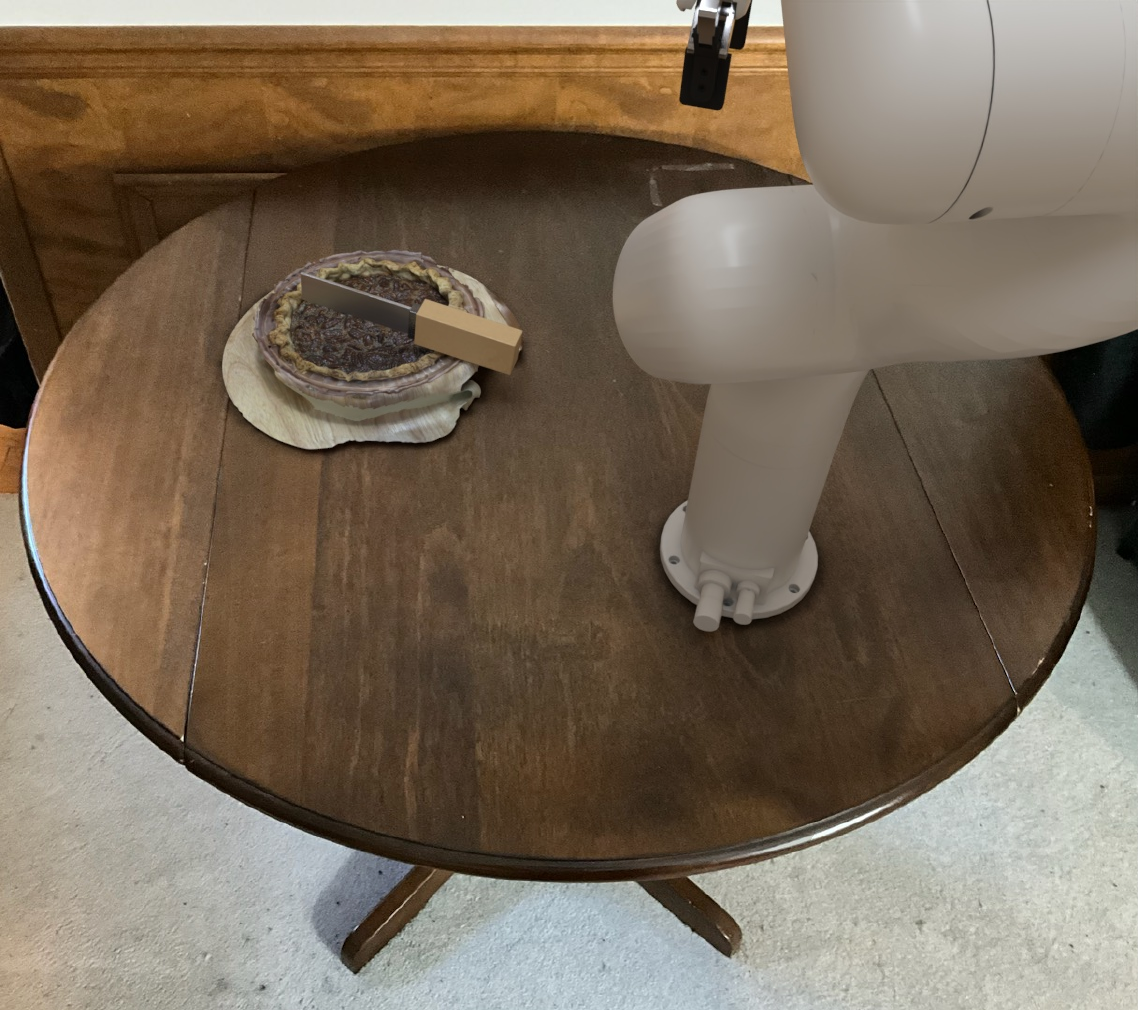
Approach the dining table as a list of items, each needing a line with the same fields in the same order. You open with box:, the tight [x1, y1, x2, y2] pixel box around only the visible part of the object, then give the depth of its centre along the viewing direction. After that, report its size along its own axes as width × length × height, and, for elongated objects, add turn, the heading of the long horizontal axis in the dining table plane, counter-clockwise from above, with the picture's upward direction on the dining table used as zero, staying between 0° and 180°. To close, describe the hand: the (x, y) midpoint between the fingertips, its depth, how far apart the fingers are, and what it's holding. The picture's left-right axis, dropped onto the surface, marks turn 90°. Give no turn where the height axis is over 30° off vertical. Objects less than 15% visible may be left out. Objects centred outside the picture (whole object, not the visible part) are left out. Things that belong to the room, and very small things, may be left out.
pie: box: [221, 249, 524, 450], centre depth 97 cm, size 28×27×5 cm
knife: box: [301, 272, 523, 376], centre depth 91 cm, size 20×2×4 cm, turn 75°
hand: (712, 74), depth 78 cm, fingers open, 9 cm apart
